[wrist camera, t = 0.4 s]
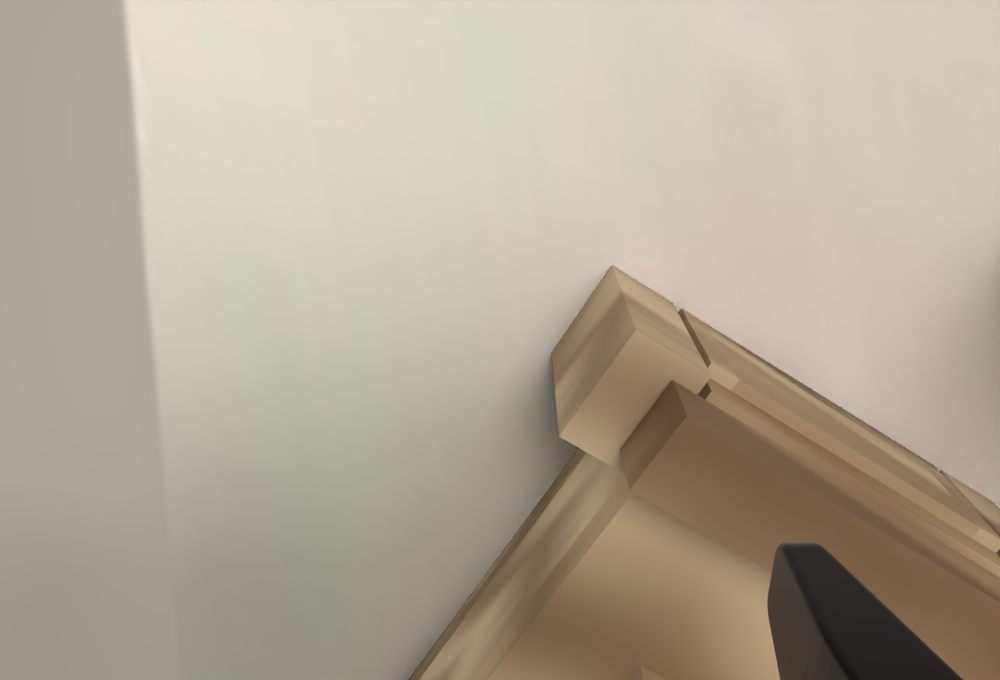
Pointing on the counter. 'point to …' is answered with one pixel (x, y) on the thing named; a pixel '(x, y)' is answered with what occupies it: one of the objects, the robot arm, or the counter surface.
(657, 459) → the brown wooden bar
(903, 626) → the robot arm
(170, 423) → the counter surface
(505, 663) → the lid
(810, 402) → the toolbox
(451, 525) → the counter surface
